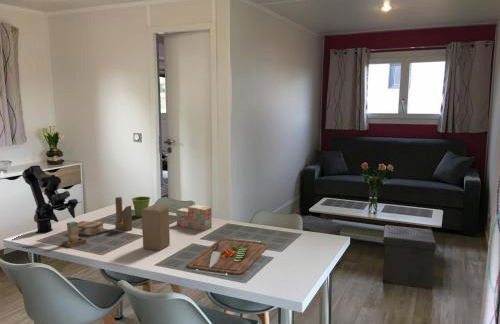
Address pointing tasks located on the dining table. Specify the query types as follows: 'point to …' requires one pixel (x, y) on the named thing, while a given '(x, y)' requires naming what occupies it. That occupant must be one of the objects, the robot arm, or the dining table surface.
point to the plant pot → (140, 204)
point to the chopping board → (228, 256)
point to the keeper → (74, 243)
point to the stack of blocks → (195, 217)
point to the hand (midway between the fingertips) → (66, 219)
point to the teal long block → (72, 232)
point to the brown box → (90, 227)
